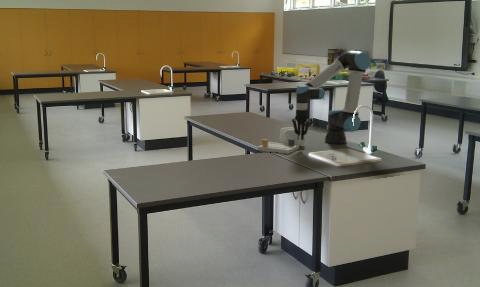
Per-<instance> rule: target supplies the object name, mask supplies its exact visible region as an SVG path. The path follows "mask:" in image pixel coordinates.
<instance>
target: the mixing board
mask: <svg viewBox="0 0 480 287" xmlns="http://www.w3.org/2000/svg"><path fill="white" fill-rule="evenodd" d="M299 148H300V146H299V145H293V146H291V145H288V144H284V143H281V142H273V141H268V146H262V144H261V145H258V146H257V151H261V152H268V153H269V152H270V153H276V152H278V153H277V154H284V153H286V154H285V155H289V153H290V154H292V153H293V151H294V152H295V150H296V151H298V150H299ZM297 149H298V150H297ZM291 152H292V153H291Z"/></svg>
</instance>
